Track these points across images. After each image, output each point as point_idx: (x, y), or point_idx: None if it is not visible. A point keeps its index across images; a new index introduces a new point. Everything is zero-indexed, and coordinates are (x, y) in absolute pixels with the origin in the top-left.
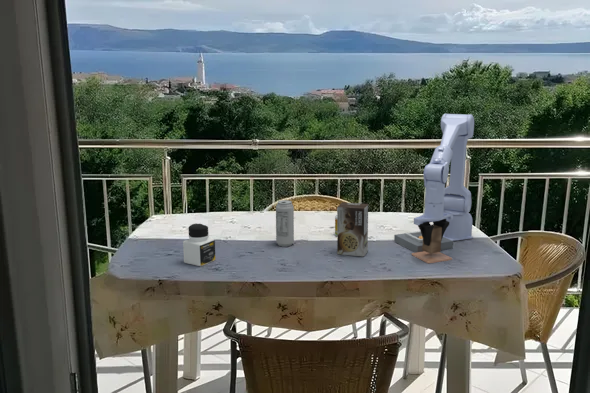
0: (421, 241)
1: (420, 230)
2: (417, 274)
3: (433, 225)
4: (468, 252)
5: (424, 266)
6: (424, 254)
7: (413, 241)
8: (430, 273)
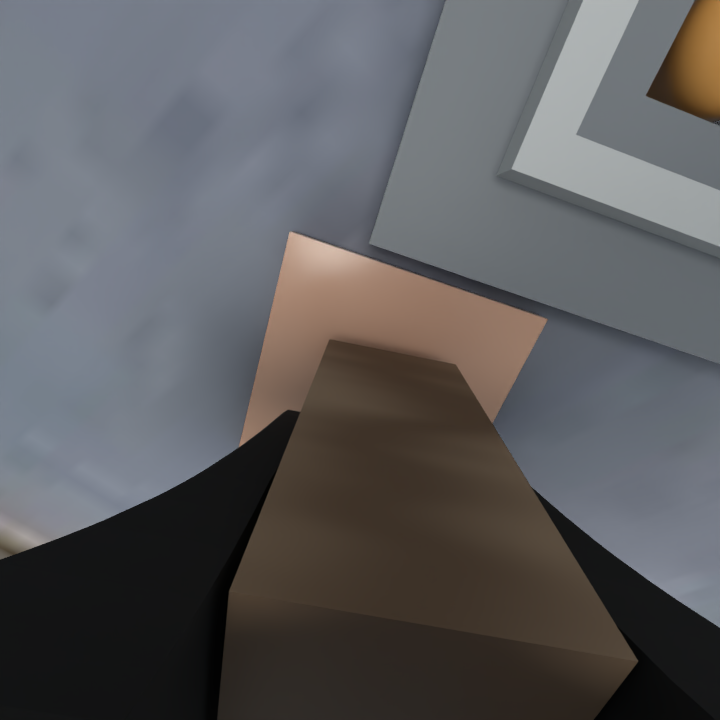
0: (529, 183)
1: (124, 520)
2: (42, 509)
3: (521, 711)
4: (687, 494)
5: (179, 461)
6: (354, 338)
7: (509, 49)
8: None
